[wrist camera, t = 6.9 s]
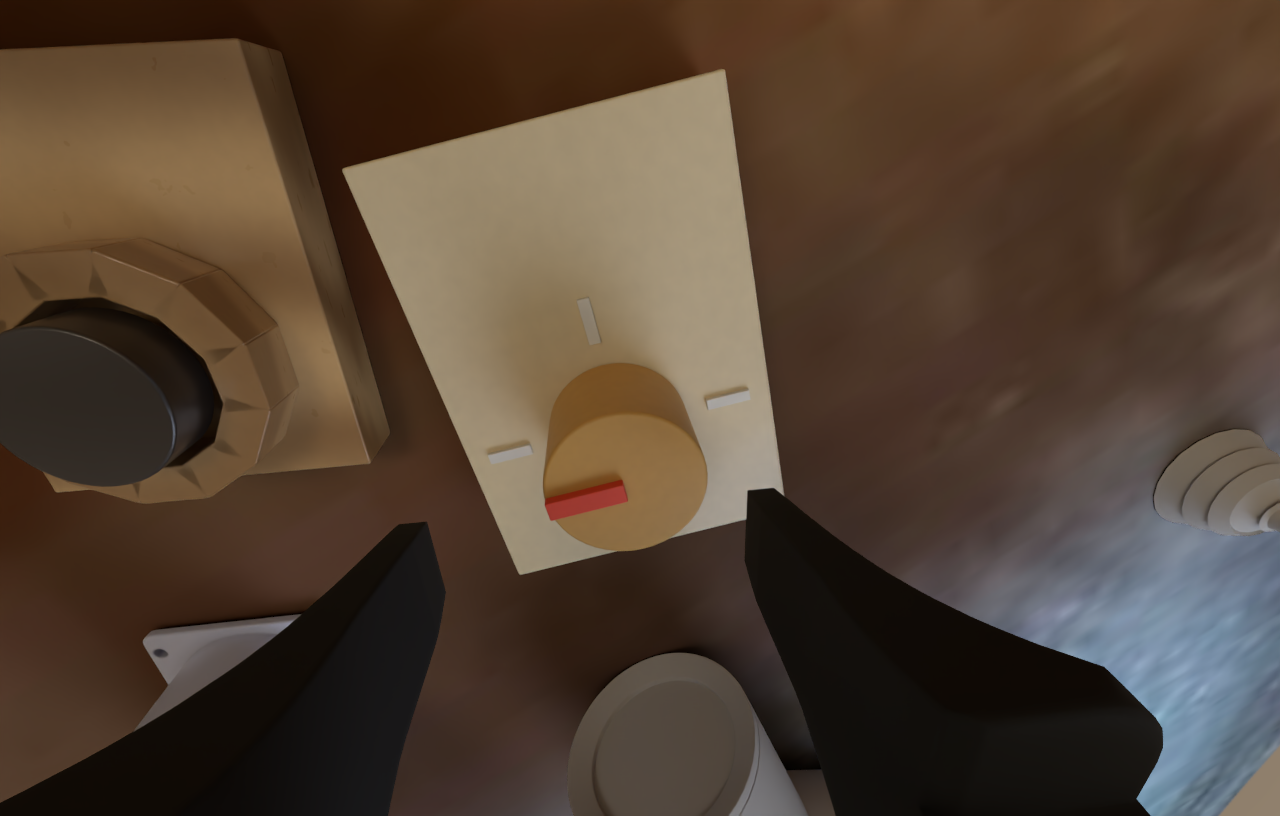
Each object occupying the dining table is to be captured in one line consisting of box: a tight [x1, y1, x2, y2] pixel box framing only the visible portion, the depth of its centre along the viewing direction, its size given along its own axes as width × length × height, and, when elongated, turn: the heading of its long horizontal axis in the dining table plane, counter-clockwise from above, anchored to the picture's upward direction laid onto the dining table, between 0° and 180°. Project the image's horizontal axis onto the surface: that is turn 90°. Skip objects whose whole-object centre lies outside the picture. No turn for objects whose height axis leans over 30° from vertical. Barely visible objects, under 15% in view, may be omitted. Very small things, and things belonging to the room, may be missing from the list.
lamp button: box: [0, 307, 214, 487], centre depth 14 cm, size 4×4×2 cm
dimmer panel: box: [342, 69, 784, 575], centre depth 18 cm, size 14×10×3 cm
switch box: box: [0, 38, 390, 504], centre depth 16 cm, size 12×10×4 cm
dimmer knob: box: [543, 363, 708, 551], centre depth 16 cm, size 4×4×4 cm
